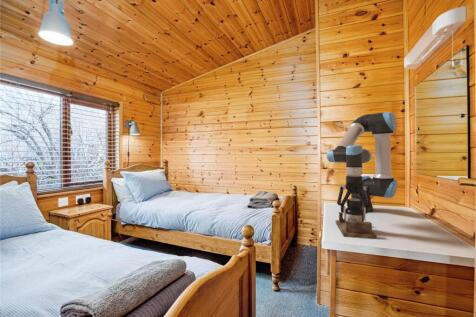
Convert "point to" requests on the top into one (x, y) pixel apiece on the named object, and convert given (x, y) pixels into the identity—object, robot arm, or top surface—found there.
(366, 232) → the cradle
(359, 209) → the ink bottle
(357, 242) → the top surface
